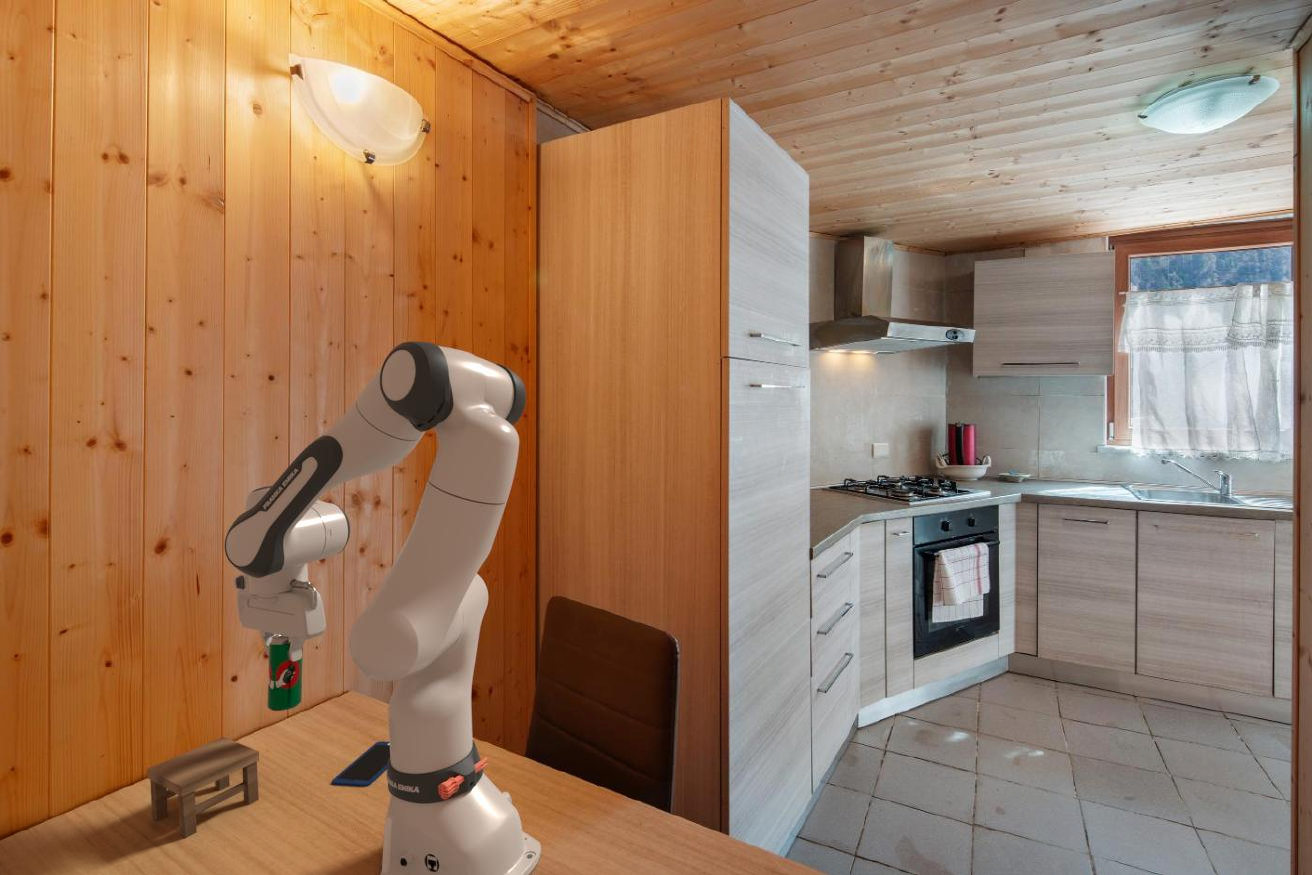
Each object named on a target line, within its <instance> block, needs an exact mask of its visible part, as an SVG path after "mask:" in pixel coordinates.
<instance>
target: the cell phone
mask: <svg viewBox="0 0 1312 875" xmlns="http://www.w3.org/2000/svg"><path fill="white" fill-rule="evenodd" d="M389 757H390V741H384V740H383V741H377V742H375V743H374V744H372V746H370V747H369V748H368V749H367V750H365V751H364V752H363V753H362V754H361V755H360V756H359V757H358V758H356V759H355V760H354V761H352V762H351V764H349V765H348V766H347V767H346V768H344V769H343V770H342V771H341V772H339V774H337V776H335V777H334V778H333V779H332V780H331V785H333V786H340V787H341V786H342V787H360V788H367V787H369V786H371V785H372V784H373V783H374V782H376V781H377V780H378V779H379V778H380V777H381V776H382V775H383V774H384V773H385V772H387V763H388V759H389Z"/></svg>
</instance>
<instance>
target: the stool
mask: <svg viewBox="0 0 1312 875" xmlns="http://www.w3.org/2000/svg"><path fill="white" fill-rule="evenodd" d="M259 753H260V752H259V750H256V749H253V748H252V747H249V746H246V745H244V744H242V743H239V742H238V741H234V740H232V739H231V738H227V737H224V736H222V737H220V738H218V739H215V740H213V741H210V742H208V743H205V744H203V745H201V746H198V747H196V748H194V749H191V750H188V751H186V752H185V753H181V754H180V755H176V756H175V757H172V758H169V759H167V760H164V761H162V762H160V763H158V764H156V765H153V766H150V767H148V768H147V769H146V773H147V774H146V775H147V776H146V777H147V779H148V780H149V781H150V797H151V816H152V819H153V820H155V821H156V822H157V821H160V820H162V819H163V818H166V817H168V816H169V809H168V808H169V807H168V806H169V805H168V799H170V798H172V797H175V796H177V795H178V797H177V798H178V813H179V815H178V816H179V817H178V818H179V832H180V836H181V837H183V838H184V839H185V838H188V837H189V836H190V837H191V836H192V835H193V834H195V833H197V831H198V830H197V828H198V827H197V815H198V814H200V813H202V812H204V811H206V810H208V809H210V808H211V807H214V806H216V805H218V804H220V803H222V802H224V801H226V800H228V799H230V798H232V797H234V796H236V795H238V794H240V793H242V792H243V803H245V804H247V805H251V804H253V803H254V802H256V801H258V800H259V797H260V796H259V781H258V780H259V779H258V778H259V777H258V762H259V761H260V754H259ZM240 770H242V771H241V772H242V782H239V784H237V785H235V786H232V787H230V775H231V774H233V773H235V772H238V771H240ZM212 783H214V785H215V786H214V787H215V789H217V790H219V791H222V790H223V789H226V788H227V787H230V788H228V789H226V790H224V791H222V792H220V793H218V794H216V795H213V796H212V797H210V798H208V799H205V800H203V801H201V802H200V803H198V804H196V794H195V792H196V791H197V790H199V789H202V788H203V787H206V786H208V785H210V784H212Z"/></svg>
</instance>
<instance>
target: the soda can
mask: <svg viewBox="0 0 1312 875" xmlns="http://www.w3.org/2000/svg"><path fill="white" fill-rule="evenodd" d="M290 644H291V642H289V639H288V636H284V635H279V634H276V636H273V637H272V641H271V642H270V644H269V655H268V667H267V668H268V670H267V671H268V673H267V677H268V678H267V701H266V702H267V703H266V704H267V705H266V706H267V708H268V709H269V710H270V711H271V712H282V711H283V712H284V711H288V710H291V709H295V708H296V707H298V706H299V705H300V704H301V702H302V697H303V690H302V689H303V656H304V653H303V652H304V646H303V647H302V658H301V659H299V660H297V661H290V660H288V659H287V652H286V651H287V650H289V649H290Z"/></svg>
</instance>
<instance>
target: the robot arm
mask: <svg viewBox="0 0 1312 875" xmlns="http://www.w3.org/2000/svg"><path fill="white" fill-rule="evenodd" d="M526 402H527V390H526V387H525V384H524V382H523V380H522V378H521V377H520V376H519V375H518V374H517V373H515V372H514V371H512V369H510V368H508V367H506V366H504V365H503V364H500V363H494V362H492V361H489V360H486V359H485V358H481V357H479V356H476V355H475V354H473V353H471V352H469V351H465V350H461V349H457V348H452V347H448V346H441V345H437V344H435V343H433V342H429V341H417V340H416V341H415V340H413V341H406V342H405V341H404V342H401V343H399V344H398V345H396V346H395V347H394V348H393V349H391V351H390V352H389V354H388V355H387V356H386V358H385V359H384V362H383V363H382V366H381V368H380V369H379V370H378V371H377V372H376V374H375V375H374V376H373V377H372V378H371V379H370V380H369V381H368V382H367V384H366V385H365V387H364V388H363V389H362V391H361V392H360V394H359V395H358V397H357V398H356V400H355V401H354V403H353V404H352V405H351V406H350V408H349V409H348V410H347V411H346V412H345V413H344V415H343V416H342V417H340V419H339V420H338V421H337V422H336V423H334V425H332V426H331V427H330V428H329V429H328V430H327V431H325V432H324V433H323V434H321V435H320V436H319V437H317V438H316V439H314V441H313V442H311V443H310V444H309V445H308V446H306V447H305V448H304V449H303V450H302V451H301V452H300V453H299V454H298V455H297V457H296V458H295V459H294V460H293V461H292V462H291V463H290V464H289V466H288V467H287V468H286V469H285V470H284V472H282V473H281V475H279V477H278V478H277V479H276V481H275V482H274V483H273V484H272V485H269V486H268V485H267V486H263V487H259V488H256V489H253V490H252V491H251V492H250V493H248V494H247V495H248V496H247V497H246V501H245V507H244V508H245V509H244V512H243V513H241V514H239V516H238V517H237V518H236V519H235V520H234V521H233V523H232V524H231V526H230V527H229V529H228V530H227V533H226V536H225V539H224V553H225V556H226V558H227V560H228V561H229V563H230V564H231V565H232V566H233V567H234V568H235V569H237V570H238V571H240V572H242V573H240V574H238V575H236V576H235V577H233V586H234V589H236V590H237V592H236V602H237V605H236V606H237V612H238V619H239V623H240V624H241V626H242V627H243V628H245V629H251V630H256V631H259V633H260V638H261V639H262V642H263V644H264V646H265V654H266V655H267V656H269V644H270V642H271V641H272V637H273V636H276V635H284V636H288V639H289V642H291V644H290V649H289V650H287V651H286V652H287V659H288V660H290V661H297V660H299V659H301V658H302V647H303V648H304V644H305V642H306V640H310V639H313V638H317V637H319V636H322V635H323V634H324V633H325V630H326V626H327V622H326V616H325V614H326V613H325V610H324V604H323V599H322V596H321V594H320V593H319V591H317V589H316V588H315V586H313V583H312V582H310V581H309V571H308V569H309V568H308V564H310V563H313V562H316V561H321V560H324V559H327V558H331V557H333V556H336V555H338V554H340V553H342V552H343V551H344V549H345V548H346V546H347V544H348V543H349V541H350V537H351V523H350V520H349V518H348V516H347V513H346V512H345V511H344V510H343V509H342V508H341V507H340V506H339V505H338V504H336V503H334V502H325V501H323V500H319V499H320V498H321V497H322V496H323V495H324V494H325V493H327V492H329V491H330V490H332V489H334V488H335V487H337V486H340V485H342V484H344V483H347V482H348V481H349V482H350V481H352V480H355V479H359V478H361V477H365V476H368V475H372V474H375V473H377V472H378V473H379V472H381V471H385V470H388V469H390V468H393V467H395V466H396V465H398V464H400V462H402V461H403V460H404V459H405V458H407V456H408V455H410V454H411V453H412V451H413V450H414V449H415V448H416V446H417V445H418V444H419V442H420V441H421V439H422V437H423V436H424V434H425V433H426V432H427V431H428V432H429V431H430V430H432V429H433V430H434V432H435V434H436V437H437V442H438V448H437V453H436V457H435V460H434V462H433V465H432V468H431V471H430V474H429V475H428V476H429V477H428V480H427V482H426V485H425V488H424V491H423V494H422V497H421V500H420V503H419V507H418V509H417V511H416V516H415V518H414V521H413V525H412V527H411V529H410V531H409V533H408V536H407V538H406V540H405V542H404V545H403V546H402V548H401V549H400V551H399V554H398V555H397V556H396V558H395V561H394V562H393V564H392V566H391V567H390V569H389V571H388V573H387V574H386V576H385V578H384V580H383V582H382V583H381V586H379V589H378V590H377V592H376V593H375V595H374V597H373V598H372V600H371V601H370V602H369V604H368V605H367V606H366V608H365V609H364V610H363V611H362V612H361V614H359V616H358V617H357V618H356V620H354V622H353V625H352V626H351V629H350V633H349V636H348V647H349V648H348V649H349V653H350V656H351V658H352V660H353V663H354V664H355V665H356V667H357V668H358V670H360V671H361V672H362V673H363V674H364V675H366V676H367V677H369V678H370V679H373V680H376V681H379V682H392V681H397V684H396V685H395V688H394V689H393V692H392V694H391V697H390V700H389V703H388V710H387V711H388V712H387V713H388V734H389V735H388V736H389V738H388V739H389V740H388V742H390V757H389V759H388V763H387V770H386V780H387V790H388V792H389V793H390V797H389V798H390V799H389V802H388V809H387V812H386V816H385V821H384V830H383V843H382V844H383V845H382V859H381V871H380V874H379V875H530V874H531V873H532V871H533V870H534V869H535V867H536V866H537V864H538V862H539V859H540V857H541V854H542V847H541V842H540V841H539V840H537V839H535V838H534V837H532V836H530V834H528V833H526V832H525V831H523V826H522V821H521V818H520V813H519V812H518V809H517V808H516V807H515V806H514V805H513V799H512V797H511V794H510V793H509V792H508V791H502V792H501V790H500V789H498V787H497V786H496V785H495V784H494V783H493V782H492V781H491V780H490V779H489V777H488V776H487V775H486V774H485V773H484V768H485V767H487V766H488V765H489V763H488V762H486V761H487V760H488V759H489V758H488V757H487V756H486V757H484V758H482V759H481V757H480V753H479V749H478V748H477V746H476V742H475V741H474V739H473V717H472V716H473V715H472V714H473V713H472V711H473V710H472V689H473V687H472V686H473V677H474V671H475V665H476V658H477V651H478V645H479V644H478V643H479V639H480V638H479V637H480V632H481V626H482V621H483V620H484V619H483V618H484V615H485V613H486V610H487V607H488V604H489V591H488V587H487V585H486V583H485V581H484V580H483V578H482V577H481V575H479V574H478V572H479V571H480V569H481V567H482V565H483V564H484V563H485V562H486V559H487V558H488V556H489V555H490V553H491V551H492V548H493V545H494V542H495V539H496V537H497V536H496V535H497V533H498V530H499V528H500V524H501V521H502V518H503V515H504V512H505V510H506V509H505V508H506V507H507V506H506V505H507V503H508V499H509V496H510V494H511V489H512V485H513V483H514V479H515V473H516V469H517V464H518V463H517V462H518V457H519V448H520V437H519V434H518V431H517V429H516V428H515V426H514V425H515V424H517V422H518V421H520V419H521V417H522V416H523V414H524V410H525V409H526V404H527V403H526ZM485 762H486V763H485Z"/></svg>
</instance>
